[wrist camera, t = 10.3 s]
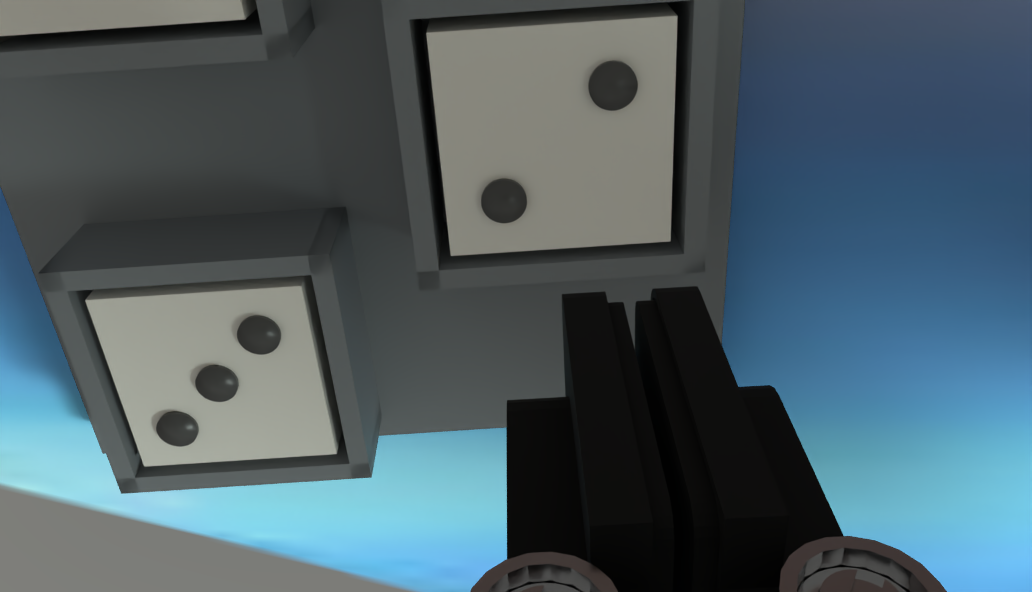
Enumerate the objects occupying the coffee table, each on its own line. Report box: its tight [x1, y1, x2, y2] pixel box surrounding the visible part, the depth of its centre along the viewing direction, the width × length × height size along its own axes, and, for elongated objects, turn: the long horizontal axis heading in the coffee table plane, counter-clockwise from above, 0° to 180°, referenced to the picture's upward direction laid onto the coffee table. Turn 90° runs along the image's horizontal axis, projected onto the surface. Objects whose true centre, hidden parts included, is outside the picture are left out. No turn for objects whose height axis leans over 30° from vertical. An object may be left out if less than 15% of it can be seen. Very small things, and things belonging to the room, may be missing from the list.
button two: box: [426, 2, 678, 256], centre depth 19 cm, size 5×5×2 cm
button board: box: [0, 0, 745, 494], centre depth 20 cm, size 18×19×4 cm
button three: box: [85, 275, 342, 467], centre depth 22 cm, size 5×5×2 cm
